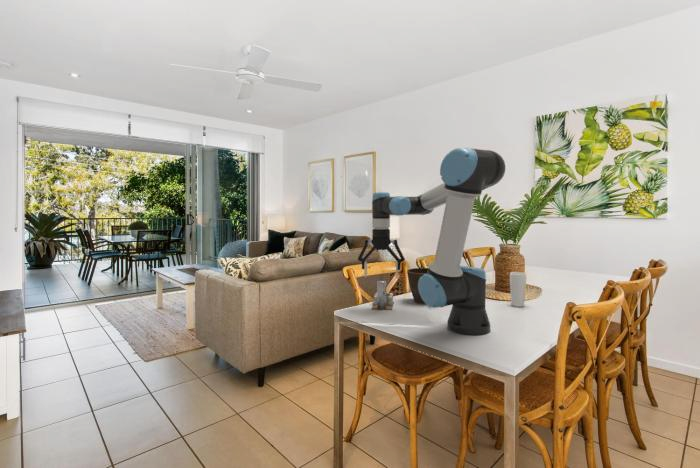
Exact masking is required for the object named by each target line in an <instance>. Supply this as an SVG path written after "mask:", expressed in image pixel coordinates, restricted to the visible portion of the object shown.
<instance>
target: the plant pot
mask: <svg viewBox="0 0 700 468" xmlns="http://www.w3.org/2000/svg"><path fill="white" fill-rule="evenodd" d="M406 272H407V279H408V283H409V284H408V285H409V288H410V292H411V294H412V299H413V301H414V303H415V304H419V305H427V304H426V303H425V302H424V301H423V300H422V298H421V296H420V294H419V290H418V281H419V279H420V277H421V276H423V275H424V274H427V272H428V267H418V268H417V267H416V268H415V267H414V268H409V269H407V270H406Z"/></svg>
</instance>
